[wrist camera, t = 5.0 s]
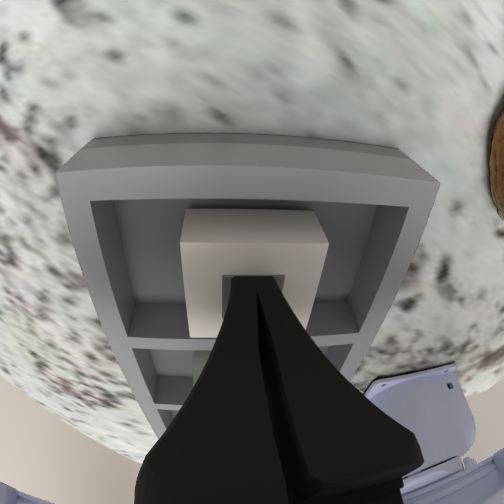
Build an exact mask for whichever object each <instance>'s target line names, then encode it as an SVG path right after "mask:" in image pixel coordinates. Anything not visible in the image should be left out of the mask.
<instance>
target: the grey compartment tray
mask: <svg viewBox="0 0 504 504" xmlns="http://www.w3.org/2000/svg"><path fill="white" fill-rule="evenodd" d="M56 177H57V182H58V186H59V191H60V195H61V200H62V204H63V208H64V212H65V216H66V220H67V223H68V227H69V231H70V234H71V238H72V241H73V245H74V248H75V251H76V255H77V258H78V261H79V264H80V267H81V270H82V273H83V276H84V279H85V282H86V285H87V288H88V291H89V293H90V296H91V299H92V301H93V304H94V307H95V309H96V312H97V315H98V317H99V320H100V322H101V325H102V327H103V329H104V332H105V334H106V337H107V339H108V341H109V343H110V346H111V348H112V350H113V353H114V355H115V357H116V359H117V361H118V363H119V366H120V368H121V370H122V372H123V374H124V376H125V378H126V380H127V382H128V384H129V386H130V388H131V390H132V392H133V394H134V396H135V398H136V400H137V402H138V403H139V405H140V407H141V409H142V411H143V413H144V415H145V416H146V418H147V420H148V422H149V423H150V425H151V427H152V429H153V430H154V432H155V434H156V435H157V437H158V439H159V438H160V437H161V436H162V435H163V433H164V432H165V431H166V429H167V428H168V426H169V425H170V423H171V422H172V420H173V419H174V417H175V416H176V414H177V413H178V411H179V410H180V408H181V407H182V405H183V404H184V402H185V401H186V399H187V397H188V396H189V394H190V392H191V390H192V389H193V376H194V350H212V349H213V346H214V344H215V341H216V339H217V338H194V337H190V333H189V325H188V317H187V309H186V300H185V291H184V282H183V272H182V261H181V250H180V239H181V233H182V228H183V222H184V217H185V212H186V209H271V210H306V211H314V212H315V214H316V216H317V218H318V220H319V223H320V225H321V227H322V229H323V231H324V233H325V236H326V238H327V240H328V242H329V246H328V250H327V254H326V258H325V262H324V266H323V270H322V273H321V277H320V281H319V285H318V288H317V292H316V296H315V299H314V303H313V306H312V310H311V313H310V317H309V320H308V324H307V327H306V331H307V333H308V334H309V335H310V337H311V338H312V339H313V341H314V342H315V343H316V345H317V346H318V347H319V349H320V350H321V351H322V352H323V354H324V355H325V356H326V357H327V358H328V359H329V361H330V362H331V363H332V364H333V365H334V366H335V367H336V368H337V370H338V371H339V372H340V373H341V374H342V375H343V376H344V377H345V378H346V379H347V380H348V381H349V382H350V380H351V378H352V377H353V375H354V373H355V372H356V370H357V368H358V367H359V365H360V363H361V361H362V360H363V358H364V356H365V354H366V352H367V351H368V349H369V347H370V345H371V343H372V342H373V340H374V338H375V336H376V334H377V332H378V330H379V328H380V327H381V325H382V323H383V321H384V319H385V317H386V315H387V313H388V311H389V309H390V307H391V305H392V303H393V300H394V298H395V296H396V294H397V292H398V290H399V288H400V286H401V283H402V281H403V279H404V277H405V275H406V272H407V270H408V268H409V265H410V263H411V261H412V258H413V256H414V254H415V251H416V249H417V246H418V244H419V241H420V239H421V236H422V234H423V231H424V229H425V226H426V223H427V221H428V218H429V215H430V212H431V210H432V207H433V204H434V201H435V198H436V195H437V192H438V189H439V186H440V183H439V182H438V181H437V180H436V179H435V178H434V177H432V176H431V175H430V174H429V173H428V172H426V171H425V170H424V169H423V168H422V167H420V166H419V165H418V164H417V163H415V162H414V161H413V160H412V159H410V158H409V157H408V156H407V155H405V154H404V153H403V152H401V151H400V150H399V149H395V148H389V147H383V146H376V145H369V144H362V143H354V142H346V141H337V140H328V139H318V138H307V137H295V136H280V135H262V134H233V133H179V134H151V135H133V136H119V137H107V138H96V139H92V140H91V141H90V142H88V143H87V144H86V145H85V146H84V147H83V148H82V149H81V150H79V151H78V152H77V153H76V154H75V155H74V156H73V157H72V158H71V159H70V160H69V161H67V162H66V163H65V164H64V165H63V166H62V167H61V168H60V169H59V170H58V171H57V172H56Z"/></svg>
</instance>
